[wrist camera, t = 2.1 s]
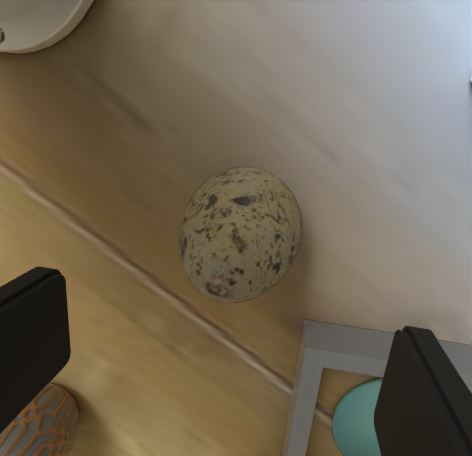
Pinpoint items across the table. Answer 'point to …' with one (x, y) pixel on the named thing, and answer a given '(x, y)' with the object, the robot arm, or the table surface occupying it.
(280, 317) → the table surface
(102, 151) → the table surface
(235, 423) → the table surface
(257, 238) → the decorative egg
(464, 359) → the walled pen
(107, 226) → the table surface
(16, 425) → the vase
